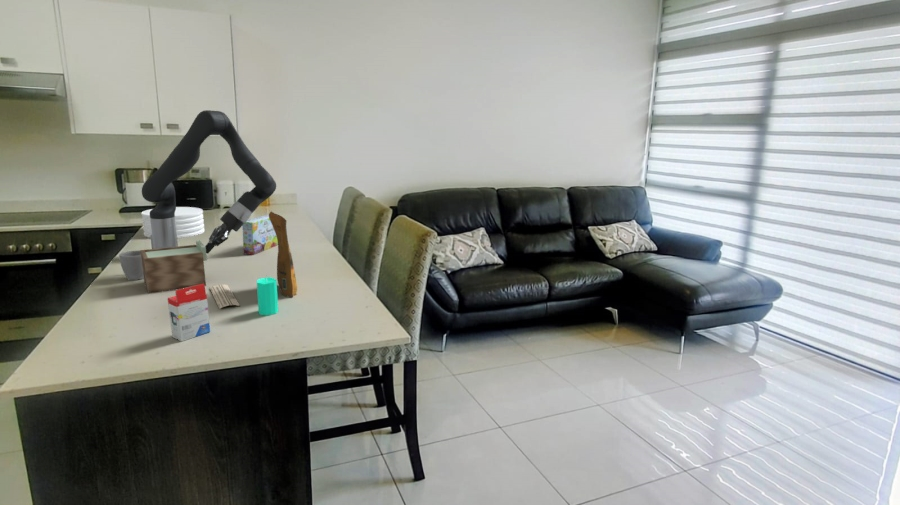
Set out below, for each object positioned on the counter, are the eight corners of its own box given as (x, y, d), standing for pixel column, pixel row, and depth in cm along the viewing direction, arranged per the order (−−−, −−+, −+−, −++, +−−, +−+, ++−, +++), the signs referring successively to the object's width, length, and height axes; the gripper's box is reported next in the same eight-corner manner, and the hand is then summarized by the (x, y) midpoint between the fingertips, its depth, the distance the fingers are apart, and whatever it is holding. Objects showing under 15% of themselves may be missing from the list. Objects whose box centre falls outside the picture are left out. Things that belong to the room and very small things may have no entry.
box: (198, 275, 192) (195, 244, 189) (205, 285, 181) (202, 252, 178) (144, 282, 182) (140, 250, 179) (148, 293, 171) (144, 259, 168)
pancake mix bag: (280, 300, 169) (275, 218, 162) (272, 284, 185) (267, 209, 178) (300, 297, 172) (297, 217, 165) (290, 282, 188) (287, 208, 181)
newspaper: (209, 290, 178) (209, 285, 178) (231, 287, 182) (230, 283, 181) (219, 311, 159) (219, 306, 158) (243, 308, 163) (243, 303, 162)
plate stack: (130, 236, 251) (127, 214, 248) (170, 226, 277) (167, 205, 275) (180, 240, 246) (178, 217, 243) (215, 229, 273) (214, 208, 270)
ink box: (201, 328, 144) (196, 279, 141) (210, 332, 142) (206, 283, 138) (171, 337, 138) (165, 286, 134) (180, 342, 135) (175, 290, 131)
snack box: (254, 255, 223) (252, 222, 220) (243, 254, 224) (240, 221, 221) (279, 245, 244) (277, 214, 240) (268, 244, 245) (267, 213, 241)
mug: (149, 280, 185) (146, 255, 182) (121, 282, 181) (118, 257, 178) (150, 271, 195) (147, 247, 193) (124, 274, 191) (120, 249, 188)
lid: (200, 253, 190) (199, 240, 189) (206, 260, 180) (205, 247, 179) (145, 258, 180) (144, 245, 178) (149, 267, 170) (147, 252, 169)
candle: (261, 308, 161) (259, 272, 158) (280, 308, 161) (278, 273, 159) (256, 315, 155) (253, 278, 152) (275, 315, 156) (273, 278, 153)
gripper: (224, 207, 192) (192, 242, 188) (232, 212, 182) (199, 249, 178) (240, 219, 196) (209, 253, 192) (249, 225, 186) (217, 261, 182)
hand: (204, 251), depth 185 cm, fingers closed
